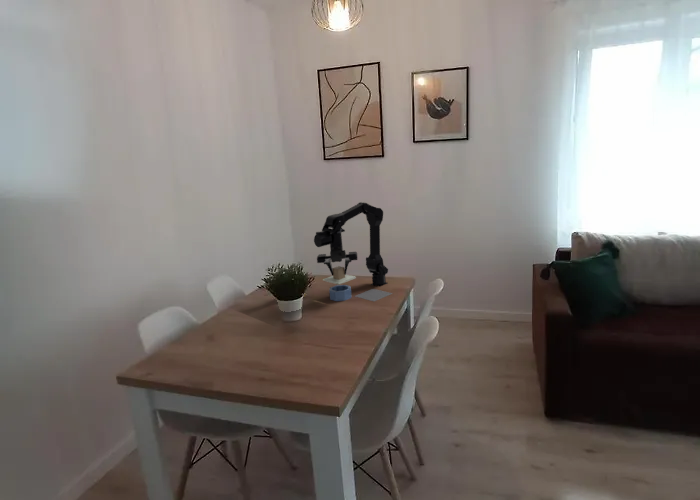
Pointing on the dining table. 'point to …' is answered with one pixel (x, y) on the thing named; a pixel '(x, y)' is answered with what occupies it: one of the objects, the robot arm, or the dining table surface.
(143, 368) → the dining table surface
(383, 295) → the mat
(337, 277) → the lid
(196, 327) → the dining table surface
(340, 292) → the bowl
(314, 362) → the dining table surface
